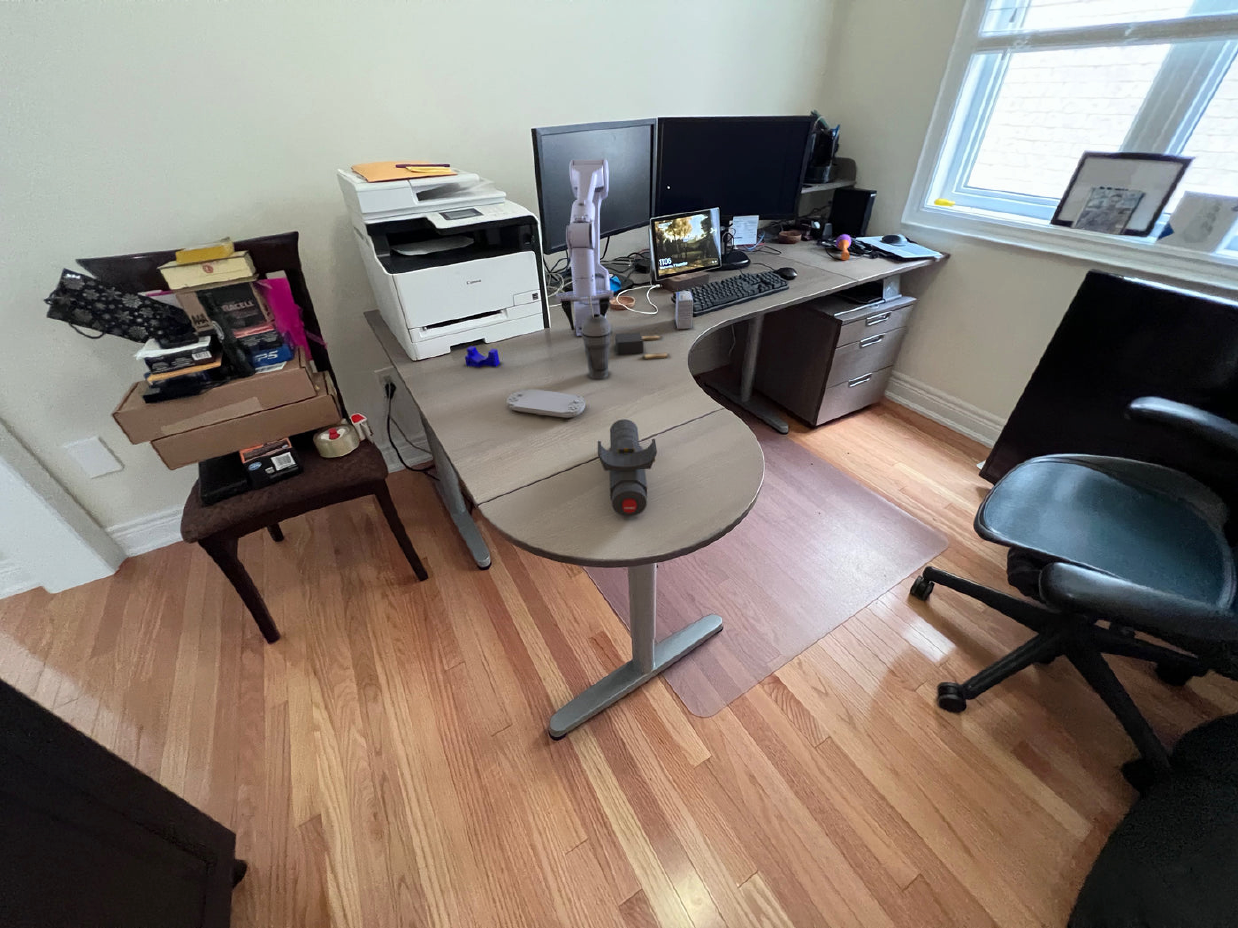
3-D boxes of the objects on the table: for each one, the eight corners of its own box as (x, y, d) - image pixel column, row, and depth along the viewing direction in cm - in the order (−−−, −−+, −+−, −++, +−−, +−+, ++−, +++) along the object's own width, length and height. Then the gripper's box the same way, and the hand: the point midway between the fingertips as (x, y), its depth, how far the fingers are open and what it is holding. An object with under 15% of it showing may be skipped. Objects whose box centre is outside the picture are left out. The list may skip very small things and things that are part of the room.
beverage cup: (609, 383, 121) (606, 302, 108) (581, 380, 122) (574, 300, 110) (615, 369, 126) (613, 291, 114) (588, 367, 127) (582, 290, 115)
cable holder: (466, 365, 130) (463, 351, 128) (473, 359, 133) (470, 346, 131) (493, 369, 128) (490, 355, 126) (499, 363, 131) (497, 349, 128)
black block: (617, 354, 133) (617, 342, 131) (615, 345, 138) (614, 333, 136) (643, 353, 134) (643, 340, 131) (640, 343, 138) (640, 332, 136)
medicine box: (691, 329, 146) (693, 300, 140) (676, 329, 146) (678, 300, 141) (689, 319, 152) (691, 291, 147) (674, 319, 152) (676, 291, 147)
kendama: (837, 250, 194) (835, 233, 209) (836, 265, 198) (835, 248, 212) (854, 247, 192) (851, 231, 206) (853, 263, 196) (850, 246, 210)
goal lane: (645, 359, 131) (645, 356, 130) (638, 338, 141) (638, 336, 141) (667, 357, 131) (667, 355, 131) (658, 337, 142) (658, 335, 141)
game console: (589, 394, 112) (576, 412, 105) (589, 403, 113) (577, 422, 107) (517, 385, 116) (501, 402, 110) (518, 394, 117) (502, 411, 111)
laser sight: (648, 442, 100) (648, 400, 94) (658, 520, 82) (660, 473, 76) (600, 444, 100) (597, 402, 94) (600, 522, 82) (597, 476, 76)
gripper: (554, 282, 119) (560, 335, 127) (613, 278, 120) (615, 331, 128) (554, 273, 124) (559, 325, 133) (611, 270, 125) (612, 321, 134)
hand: (587, 327), depth 131 cm, fingers open, 7 cm apart
